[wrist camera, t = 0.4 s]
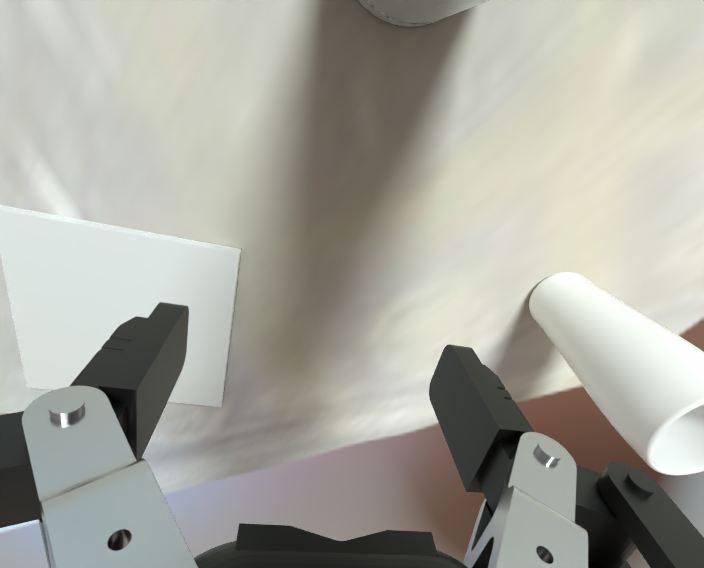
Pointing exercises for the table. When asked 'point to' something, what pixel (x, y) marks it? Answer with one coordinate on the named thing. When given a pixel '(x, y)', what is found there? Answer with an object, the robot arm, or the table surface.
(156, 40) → the table surface
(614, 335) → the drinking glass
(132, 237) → the plate
